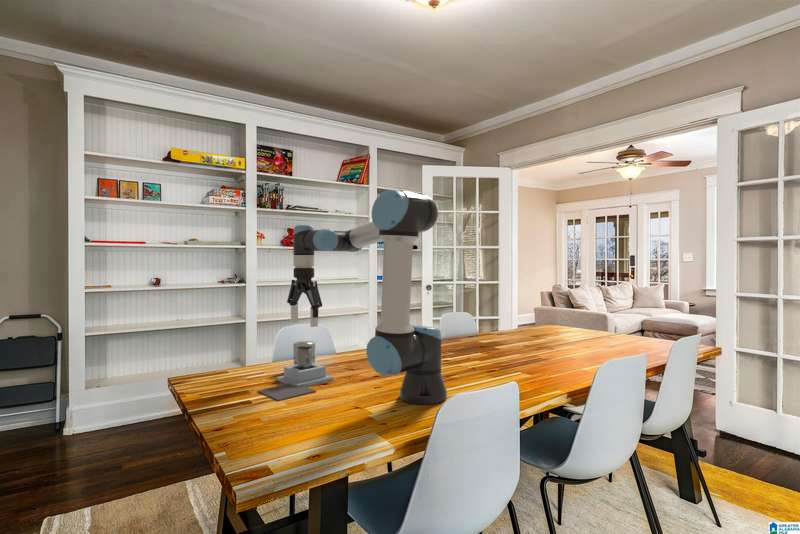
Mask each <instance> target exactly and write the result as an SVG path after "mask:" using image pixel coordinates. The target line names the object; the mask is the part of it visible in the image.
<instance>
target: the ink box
mask: <svg viewBox="0 0 800 534" xmlns="http://www.w3.org/2000/svg"><path fill="white" fill-rule="evenodd" d="M311 341H312V342H313V346H312V363H315V364H317V341H315V340H311ZM297 342H301V340H300V341H295V342H293V348H292V349H293V351H292V352H293V365H296V364H297V346H296V343H297Z"/></svg>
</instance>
